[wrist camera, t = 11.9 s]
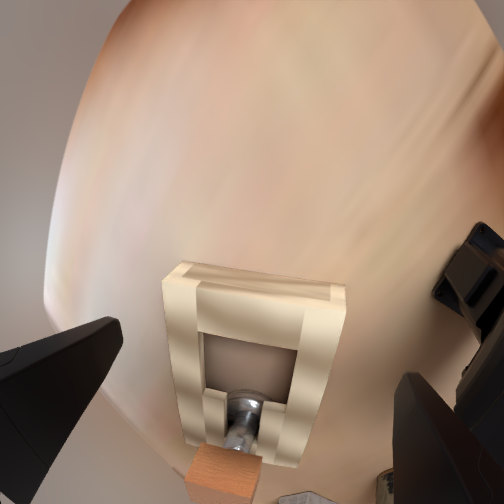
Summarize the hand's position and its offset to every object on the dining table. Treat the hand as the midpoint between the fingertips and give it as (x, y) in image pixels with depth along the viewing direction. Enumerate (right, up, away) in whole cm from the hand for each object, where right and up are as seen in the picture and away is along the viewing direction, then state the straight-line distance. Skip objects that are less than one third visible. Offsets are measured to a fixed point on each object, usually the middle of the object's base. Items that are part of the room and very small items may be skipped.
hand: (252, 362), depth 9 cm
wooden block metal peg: (0, -12, +19) cm, 23 cm away
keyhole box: (0, -8, +17) cm, 19 cm away
